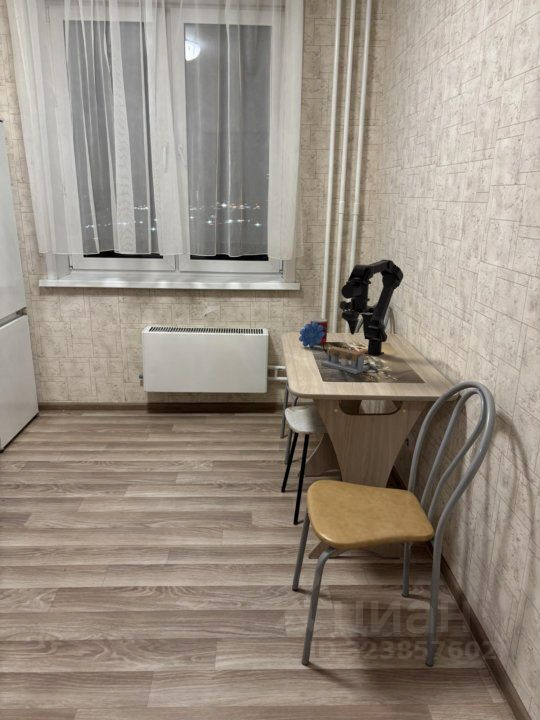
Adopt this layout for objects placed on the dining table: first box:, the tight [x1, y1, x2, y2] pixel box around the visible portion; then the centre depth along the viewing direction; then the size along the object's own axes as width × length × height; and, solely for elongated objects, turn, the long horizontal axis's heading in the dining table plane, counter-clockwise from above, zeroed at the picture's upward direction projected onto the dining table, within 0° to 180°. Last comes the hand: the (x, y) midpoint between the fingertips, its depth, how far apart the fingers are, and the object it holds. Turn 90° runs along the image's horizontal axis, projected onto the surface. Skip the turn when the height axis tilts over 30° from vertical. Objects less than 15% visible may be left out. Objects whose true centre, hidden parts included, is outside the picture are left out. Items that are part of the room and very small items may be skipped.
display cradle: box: [321, 348, 370, 375], centre depth 217 cm, size 9×17×6 cm, turn 48°
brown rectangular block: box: [329, 346, 362, 362], centre depth 216 cm, size 13×4×3 cm, turn 48°
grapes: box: [298, 322, 325, 348], centre depth 246 cm, size 12×7×12 cm, turn 83°
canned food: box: [309, 317, 328, 345], centre depth 254 cm, size 8×8×11 cm
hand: (358, 332), depth 224 cm, fingers open, 9 cm apart
